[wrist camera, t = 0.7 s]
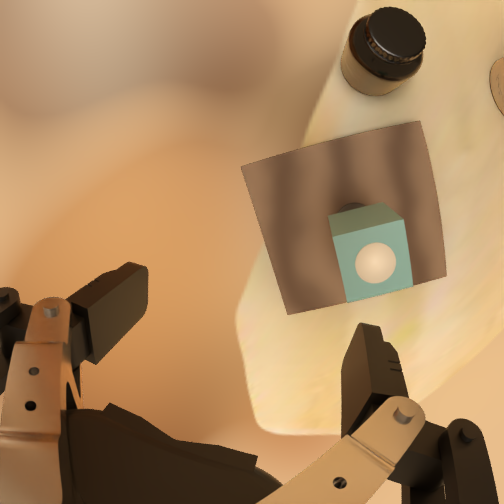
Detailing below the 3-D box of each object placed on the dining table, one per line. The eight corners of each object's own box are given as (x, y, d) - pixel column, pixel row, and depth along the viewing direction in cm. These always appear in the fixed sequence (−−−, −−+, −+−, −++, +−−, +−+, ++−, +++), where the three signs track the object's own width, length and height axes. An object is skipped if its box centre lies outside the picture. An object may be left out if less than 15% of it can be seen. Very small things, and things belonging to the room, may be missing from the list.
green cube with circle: (382, 202, 26) (404, 219, 19) (393, 255, 27) (413, 287, 21) (327, 215, 27) (332, 237, 21) (340, 268, 28) (347, 304, 22)
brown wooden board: (414, 121, 29) (444, 115, 21) (440, 269, 33) (469, 302, 25) (244, 165, 34) (222, 171, 26) (288, 307, 39) (281, 348, 30)
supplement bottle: (398, 102, 28) (438, 83, 17) (338, 90, 29) (351, 62, 18) (400, 48, 26) (436, 9, 15) (341, 36, 27) (353, -12, 16)
